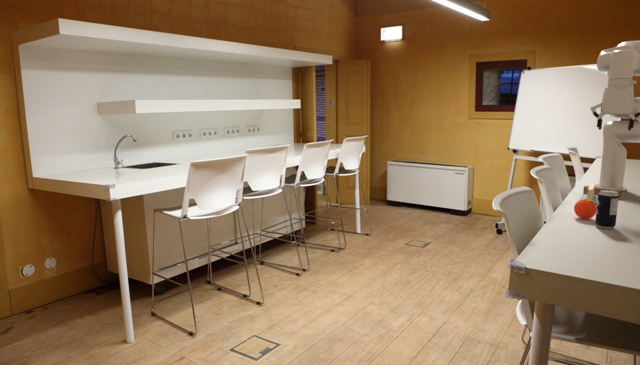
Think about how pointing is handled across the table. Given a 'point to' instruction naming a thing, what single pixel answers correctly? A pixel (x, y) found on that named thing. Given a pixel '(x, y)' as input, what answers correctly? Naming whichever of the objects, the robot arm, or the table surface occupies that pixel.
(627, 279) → the table surface
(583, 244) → the table surface
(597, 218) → the beverage can
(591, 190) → the ridge stand
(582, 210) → the tomato
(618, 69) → the robot arm
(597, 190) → the walnut rod
